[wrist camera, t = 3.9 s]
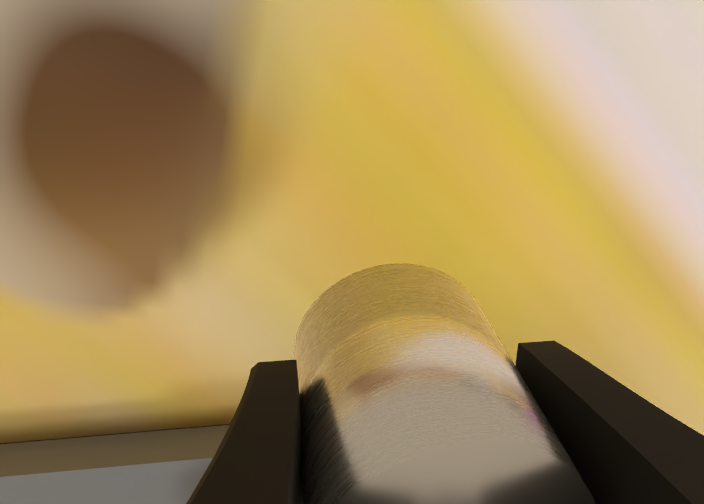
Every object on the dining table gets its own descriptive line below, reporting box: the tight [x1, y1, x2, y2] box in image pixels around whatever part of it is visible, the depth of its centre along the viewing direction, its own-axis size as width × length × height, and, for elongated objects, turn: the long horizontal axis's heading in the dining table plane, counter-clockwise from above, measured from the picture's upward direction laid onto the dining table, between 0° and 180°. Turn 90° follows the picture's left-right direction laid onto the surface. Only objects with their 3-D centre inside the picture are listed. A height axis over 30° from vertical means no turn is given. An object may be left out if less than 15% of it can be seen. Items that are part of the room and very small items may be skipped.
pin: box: [294, 264, 596, 504], centre depth 10 cm, size 4×4×4 cm
